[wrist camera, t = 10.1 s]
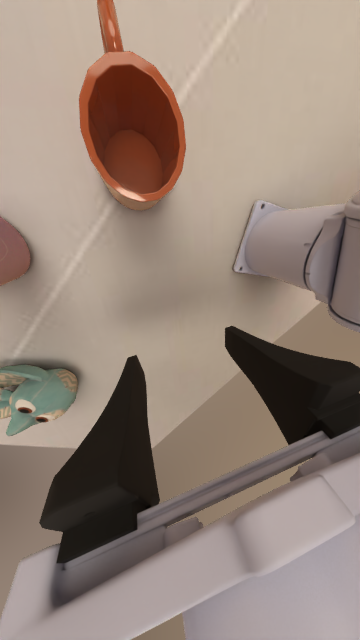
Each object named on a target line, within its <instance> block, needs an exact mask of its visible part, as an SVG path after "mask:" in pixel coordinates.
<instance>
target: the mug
mask: <svg viewBox="0 0 360 640" xmlns="http://www.w3.org/2000/svg"><path fill="white" fill-rule="evenodd" d="M97 7H98V14H99V20H100V27H101V34H102V40H103V47H104V55H103V56H102V57H101V58H100V59H99V60H97V61H96V62H95V63H94V64H93V65H92V66H91V67H90V68H89V70H88V71H87V74H86V77H85V80H84V83H83V86H82V89H81V92H80V96H79V97H80V98H79V108H80V128H81V133H82V136H83V139H84V142H85V145H86V148H87V150H88V153H89V156H90V159H91V161H92V163H93V164H94V166H95V168H96V170H97V171H98V173H99V175H100V176H101V178H102V180H103V182H104V183H105V185H106V186H107V188H108V189H109V191H110V192H111V194H112V195H113V197H114V198H115V199H116V200H117V201H118V202H120V203H121V204H122V205H124V206H125V207H127V208H129V209H132V210H138V211H141V210H146V209H149V208H151V207H153V206H154V205H155V204H156V203H158V202H159V201H160V200H161V199H162V198H163V197H164V196H165V195H166V194H167V193H169V192H170V191H171V190H172V189H173V187H174V185H175V183H176V181H177V179H178V178H179V176H180V174H181V172H182V168H183V162H184V156H185V150H186V143H185V132H184V122H183V117H182V115H181V112H180V109H179V106H178V104H177V101H176V98H175V95H174V93H173V91H172V89H171V88H170V86H169V85H168V83H167V82H166V81H165V79H164V78H163V77H162V75H161V74H160V73H159V71H158V70H157V68H156V67H154V65H152V64H151V63H149V62H148V61H146V60H144V59H143V58H141V57H140V56H138V55H136V54H135V53H133V52H130V51H125V52H124V50H123V45H122V40H121V35H120V30H119V25H118V20H117V15H116V10H115V5H114V2H113V0H97Z"/></svg>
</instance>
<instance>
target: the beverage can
mask: <svg viewBox="0 0 360 640" xmlns="http://www.w3.org/2000/svg"><path fill="white" fill-rule="evenodd" d="M29 265H30V252H29V249H28V246H27V244H26V242H25V241H24V239H23V238H22V236H21V235H20V234H19V232H18V231H17V230H16V229H15V228H14V227H13V226H12V225H11V224H9V223H8V222H7V221H6V220H4V219H3V218H1V217H0V286H1V285H4V284H6V283H8V282H10V281H13V280H15V279H17V278H19V277H21V276H22V275H24V274H25V273H26V271H27V270H28V268H29Z"/></svg>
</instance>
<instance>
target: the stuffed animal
mask: <svg viewBox="0 0 360 640" xmlns="http://www.w3.org/2000/svg"><path fill="white" fill-rule="evenodd" d="M19 384H20V385H19ZM14 385H19V386H18V388H17V389H16V390H15V391H14V392H12V391H10V390H7V389H4V387H9V386H14ZM77 388H78V381H77V378H76V377H75V375H74V374H73V373H71V372H70V371H68V370H66V369H63V368H61V369H50V370H43V369H41V368H39V367H37V366H29V365H25V364H23V365H16V366H6V367H3V368H0V419H2V418H8V417H10V416H11V418H12V419H11V421H10V423H9V426H8V428H7V431H6V434H7V436H13V435H15V434H17V433H19V432H21V431H23V430H25V429H27V428H29V427H30V426H32V425H35V424H38V423H41V422H48V421H51V420H55V419H57V418H58V417H59V416H62V415H63V414H64V413H65V412H66V411H67V409H68V408H69V407H70V405H71V404H72V403H74V401H75V399H76V393H77Z"/></svg>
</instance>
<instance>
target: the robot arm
mask: <svg viewBox="0 0 360 640" xmlns="http://www.w3.org/2000/svg"><path fill="white" fill-rule="evenodd" d="M261 205H262V209H261ZM240 267H241V269H240V270H239V268H240ZM233 270H234V271H235V272H240V273H247V274H253V275H260V276H266V277H273V278H276V279H278V280H281V281H284V282H287V283H290V284H293V285H296V286H299V287H301V288H304V289H307V290H310V291H313V292H314V293H315V295H316V300H319V301H322V302H324V303H327V304H328V307H327V308H328V312H329V315H330V316H331V317H332V318H333V319H334V320H335V321H336V322H337V323H339V324H341V325H342V326H344V327H346V328H349V329H351V330H354V331H357V332H360V191H359V192H358V193H356V194H355V195H354V196H352V197H351V198H350V199H349V200H348V201H347V202H346V203H343V204H334V205H326V206H317V207H308V208H300V209H291V210H289V209H286V208H283V207H280V206H277V205H274V204H271V203H268V202H266V201H263V200H257V201H256V202H255V203H254V206H253V209H252V212H251V215H250V218H249V221H248V224H247V227H246V230H245V233H244V236H243V239H242V242H241V245H240V248H239V251H238V255H237V258H236V261H235V264H234V267H233ZM225 347H226V349H227V351H228V352H229V354H230V356H231V357H232V359H233V360H234V361H235V362H236V364H237V365H238V366H239V367H240V369H241V370H242V371H243V372H244V374H245V375H246V376H247V377H248V378H249V380H250V381H251V382H252V384H253V385H254V387H255V388H256V390H257V391H258V393H259V394H260V396H261V397H262V399H263V401H264V402H265V404H266V406H267V407H268V409H269V411H270V412H271V414H272V416H273V417H274V419H275V421H276V422H277V424H278V426H279V428H280V430H281V432H282V433H283V435H284V437H285V439H286V441H287V443H288V446H286V447H284V448H282V449H280V450H277V451H275V452H273V453H271V454H268V455H266V456H264V457H262V458H260V459H257V460H255V461H253V462H251V463H249V464H246V465H244V466H242V467H240V468H238V469H235V470H233V471H231V472H229V473H227V474H224V475H222V476H220V477H218V478H215V479H213V480H211V481H209V482H207V483H204V484H202V485H200V486H198V487H195V488H193V489H191V490H189V491H187V492H184V493H182V494H180V495H178V496H175V497H173V498H171V499H169V500H167V501H164V502H162V503H160V504H159V501H160V499H159V494H158V488H157V481H156V475H155V469H154V463H153V457H152V450H151V443H150V435H149V428H148V418H147V393H146V381H145V375H144V371H143V369H142V367H141V365H140V362H139V360H138V358H137V355H135V356H132V357H128V359H127V361H126V364H125V367H124V369H123V372H122V375H121V377H120V379H119V382H118V384H117V386H116V388H115V390H114V392H113V394H112V396H111V398H110V400H109V402H108V404H107V406H106V407H105V409H104V411H103V412H102V414H101V416H100V417H99V419H98V420H97V422H96V423H95V425H94V426H93V428H92V429H91V431H90V432H89V434H88V435H87V436H86V438H85V439H84V440H83V442H82V443H81V445H80V446H79V447H78V449H77V450H76V451H75V452H74V454H73V455H72V456H71V458H70V459H69V460H68V461H67V462H66V464H65V465H64V466H63V467H62V468H61V470H60V471H59V472H58V473H57V474H56V475H55V477H54V479H53V481H52V484H51V487H50V489H49V493H48V496H47V499H46V503H45V506H44V509H43V512H42V516H41V519H40V522H39V523H40V524H41V526H42V528H45V529H49V530H55V531H61V532H63V535H62V540H61V543H60V544H55V545H52V546H49V547H47V548H45V549H42V550H40V551H38V552H36V553H34V554H31V555H29V556H27V557H24V558H23V559H22V560H21V561H20V562H19V565H18V568H17V571H16V574H15V577H14V580H13V583H12V586H11V589H10V592H9V595H8V598H7V601H6V604H5V607H4V610H3V613H2V616H1V619H0V640H131V639H133V638H134V637H136V636H138V635H140V634H142V633H144V632H146V631H148V630H150V629H152V628H153V627H155V626H157V625H159V624H161V623H163V622H165V621H167V620H169V619H171V618H173V617H174V616H176V615H178V614H180V613H182V614H183V621H184V629H185V636H186V640H360V394H359V391H360V368H359V367H358V366H356V365H354V364H353V363H351V362H347V361H340V360H334V359H328V358H323V357H317V356H313V355H308V354H304V353H300V352H296V351H293V350H289V349H286V348H283V347H280V346H277V345H274V344H272V343H269V342H267V341H264V340H262V339H259V338H257V337H255V336H253V335H251V334H248V333H246V332H244V331H242V330H240V329H238V328H236V327H234V326H230V327H227V328H225ZM310 458H312V459H310ZM308 459H310V460H309V461H307V462H305V463H304V464H302V465H301V466H299V467H298V471H297V472H296V473H295V474H294V475H293V476H292V477H291V478H290V481H291V482H290V483H287V484H285V485H283V486H280V487H278V488H276V489H274V490H272V491H270V492H268V493H266V494H264V495H262V496H260V497H258V498H256V499H254V500H252V501H250V502H248V503H246V504H245V505H243V506H241V507H239V508H237V509H235V510H233V511H232V512H230V513H228V514H226V515H224V516H223V517H221V518H219V519H217V520H215V521H214V522H212V523H210V524H208V525H206V526H205V527H203V524H202V523H201V522H199V521H198V518H197V517H194V518H191V519H188V520H185V521H182V522H179V523H176V522H178V521H180V520H182V519H184V518H186V517H188V516H190V515H193V514H195V513H197V512H199V511H201V510H203V509H205V508H207V507H209V506H211V505H213V504H216V503H218V502H220V501H222V500H224V499H226V498H228V497H230V496H232V495H235V494H237V493H239V492H241V491H243V490H245V489H247V488H249V487H251V486H253V485H256V484H257V483H260V482H262V481H264V480H266V479H268V478H270V477H272V476H274V475H277V474H279V473H281V472H283V471H285V470H287V469H289V468H291V467H293V466H295V465H297V464H299V463H302V462H304V461H306V460H308ZM174 523H176V524H174ZM172 524H174V525H172ZM170 525H171V526H170ZM167 526H170V527H168V528H167Z"/></svg>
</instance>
